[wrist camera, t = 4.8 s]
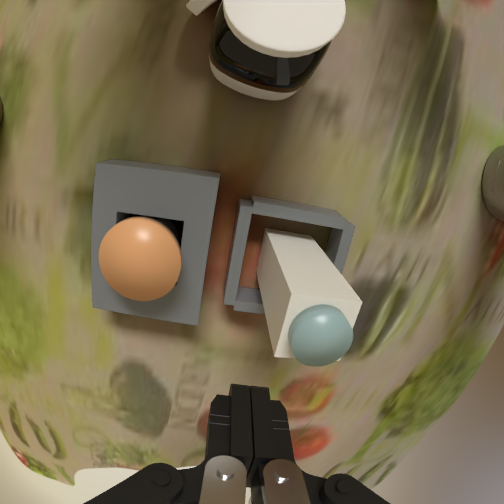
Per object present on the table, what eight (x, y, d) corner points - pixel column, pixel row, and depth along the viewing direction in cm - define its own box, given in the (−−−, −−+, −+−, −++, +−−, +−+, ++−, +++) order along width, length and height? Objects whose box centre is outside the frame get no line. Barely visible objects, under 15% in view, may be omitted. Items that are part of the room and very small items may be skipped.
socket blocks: (348, 197, 29) (365, 206, 25) (315, 317, 33) (325, 339, 30) (112, 158, 26) (96, 163, 23) (106, 288, 31) (92, 307, 27)
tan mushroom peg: (193, 208, 28) (185, 227, 22) (185, 275, 30) (176, 307, 24) (124, 198, 27) (99, 214, 21) (120, 264, 29) (98, 293, 23)
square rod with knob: (310, 235, 30) (369, 312, 17) (300, 277, 32) (345, 372, 18) (265, 227, 30) (295, 304, 16) (256, 271, 31) (276, 369, 18)
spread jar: (285, 114, 26) (323, 100, 15) (163, 75, 24) (123, 39, 13) (327, 7, 23) (378, -48, 12) (212, -31, 21) (207, -103, 10)
